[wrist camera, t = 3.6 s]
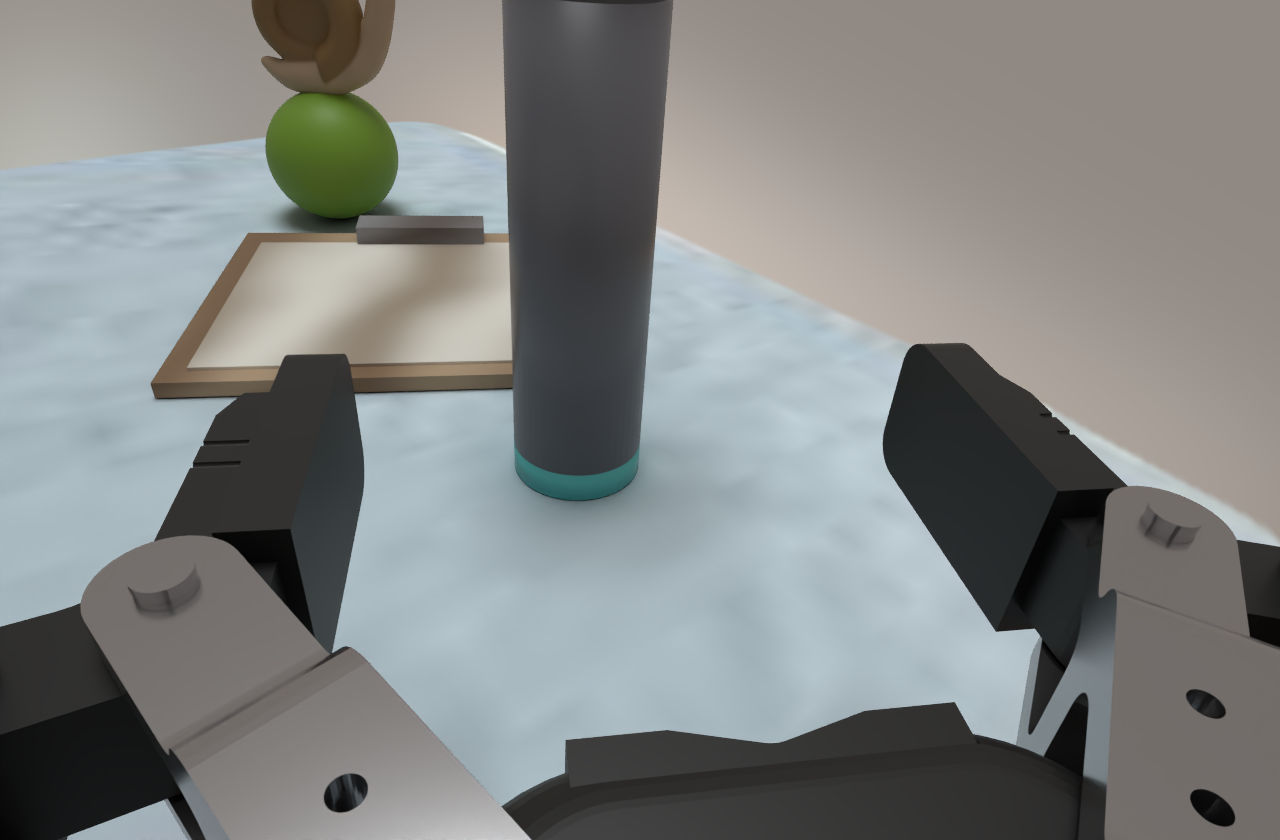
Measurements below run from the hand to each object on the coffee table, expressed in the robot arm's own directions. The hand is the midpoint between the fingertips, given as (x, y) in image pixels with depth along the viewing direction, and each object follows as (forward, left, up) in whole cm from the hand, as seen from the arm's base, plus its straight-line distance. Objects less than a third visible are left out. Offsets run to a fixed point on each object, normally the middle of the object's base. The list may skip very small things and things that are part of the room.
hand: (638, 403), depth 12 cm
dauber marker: (0, +8, -7) cm, 11 cm away
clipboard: (-5, +18, -7) cm, 20 cm away
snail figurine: (-8, +28, -7) cm, 30 cm away
